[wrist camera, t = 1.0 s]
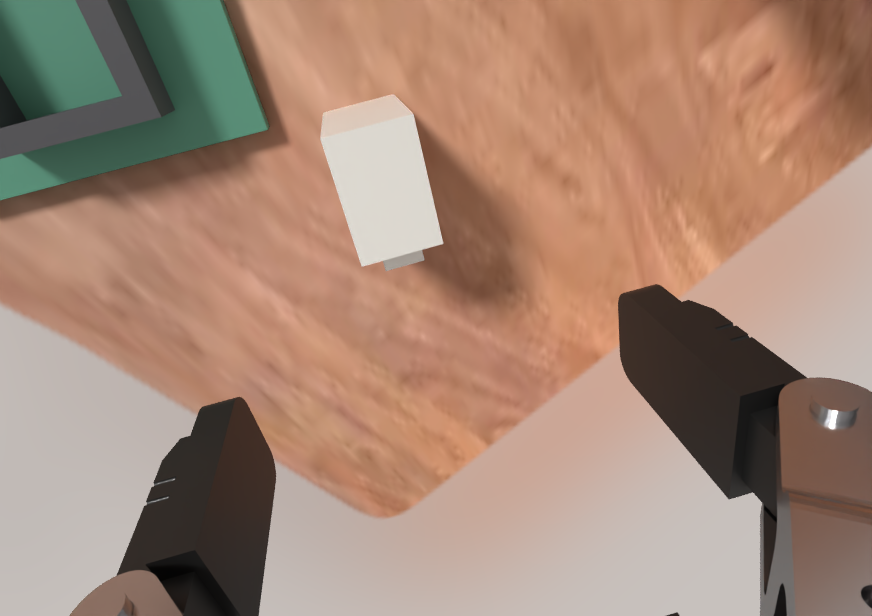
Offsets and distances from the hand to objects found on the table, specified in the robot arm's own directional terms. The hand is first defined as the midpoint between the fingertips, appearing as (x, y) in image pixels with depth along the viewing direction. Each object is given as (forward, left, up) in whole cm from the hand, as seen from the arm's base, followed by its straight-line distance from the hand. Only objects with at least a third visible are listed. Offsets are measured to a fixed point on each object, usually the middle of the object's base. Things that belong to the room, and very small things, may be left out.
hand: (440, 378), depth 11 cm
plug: (0, 0, -22) cm, 22 cm away
